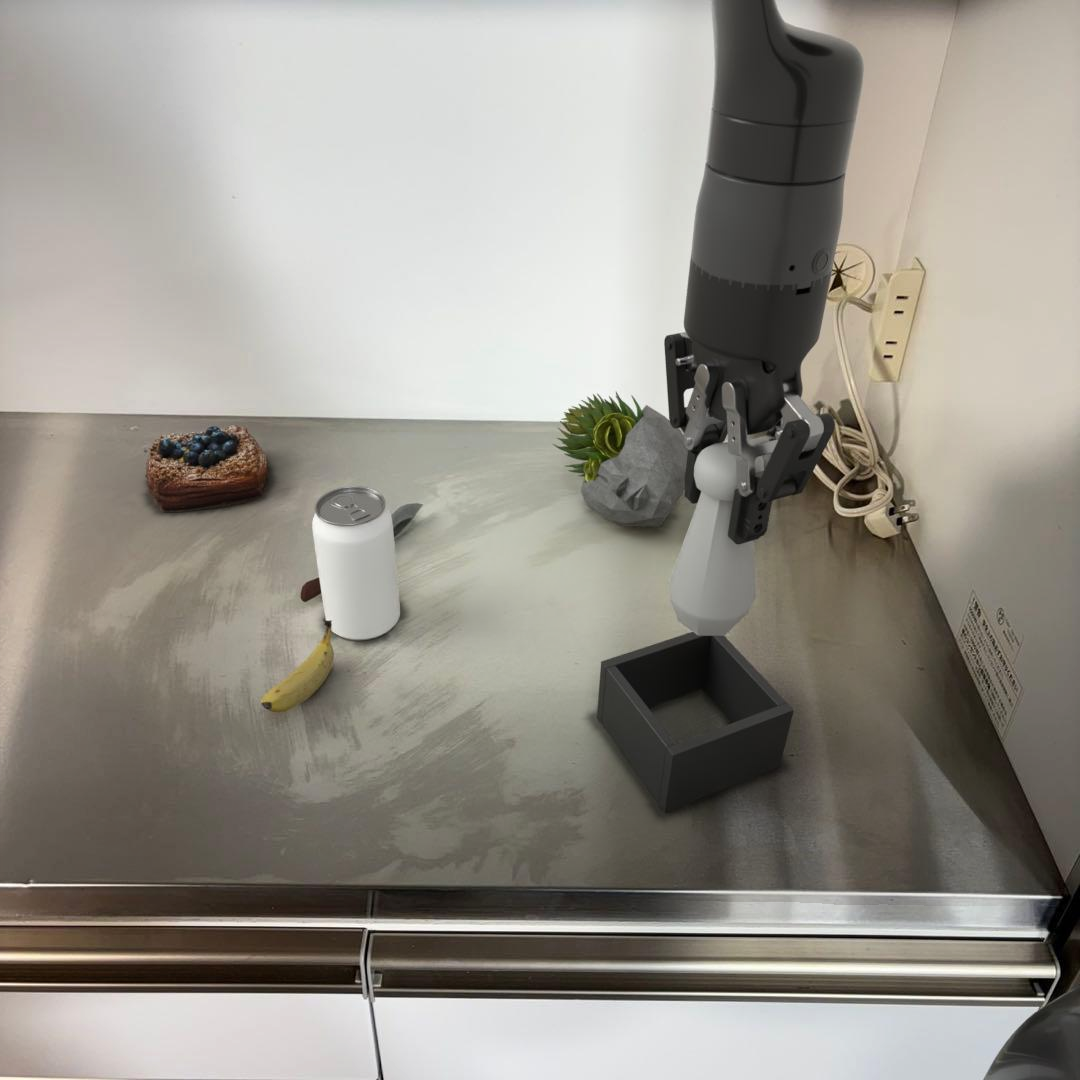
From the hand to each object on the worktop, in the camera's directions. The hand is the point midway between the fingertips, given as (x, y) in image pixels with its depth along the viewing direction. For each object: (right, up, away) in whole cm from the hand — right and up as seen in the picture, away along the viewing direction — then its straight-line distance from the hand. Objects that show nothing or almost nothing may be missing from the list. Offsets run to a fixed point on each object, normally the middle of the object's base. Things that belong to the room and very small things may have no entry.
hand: (722, 517), depth 62 cm
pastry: (-46, +5, +41) cm, 62 cm away
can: (-27, -8, +23) cm, 37 cm away
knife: (-28, -3, +30) cm, 41 cm away
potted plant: (-4, +2, +38) cm, 38 cm away
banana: (-30, -14, +16) cm, 37 cm away
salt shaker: (0, -7, +5) cm, 8 cm away
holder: (0, -17, +12) cm, 21 cm away
